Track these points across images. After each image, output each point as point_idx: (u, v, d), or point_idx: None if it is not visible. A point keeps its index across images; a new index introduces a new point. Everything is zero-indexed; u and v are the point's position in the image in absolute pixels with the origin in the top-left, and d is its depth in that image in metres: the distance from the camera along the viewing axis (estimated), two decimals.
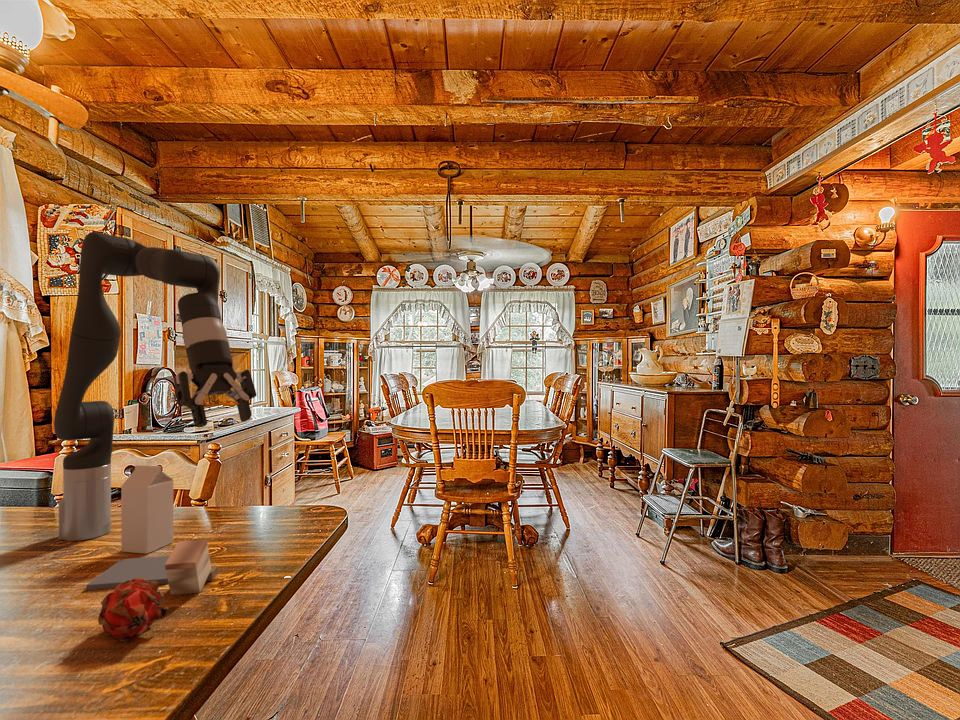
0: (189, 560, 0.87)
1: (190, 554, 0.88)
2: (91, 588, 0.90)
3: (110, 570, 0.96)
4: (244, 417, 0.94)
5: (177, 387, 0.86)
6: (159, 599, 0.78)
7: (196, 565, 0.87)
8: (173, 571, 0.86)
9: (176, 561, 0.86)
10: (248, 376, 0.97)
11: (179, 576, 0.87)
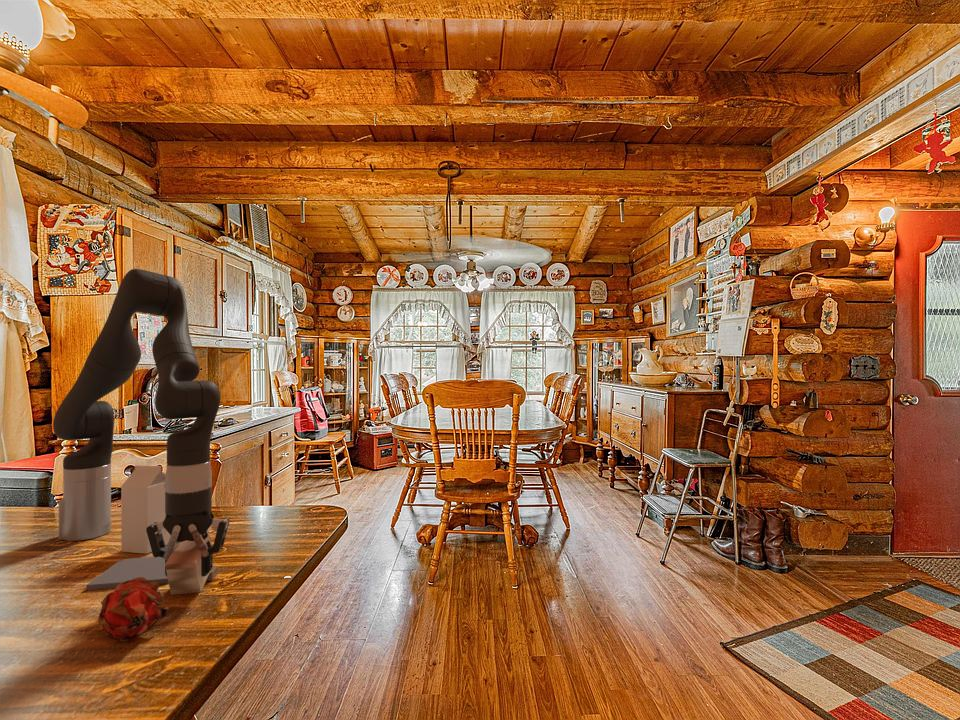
0: (189, 560, 0.87)
1: (190, 554, 0.88)
2: (91, 588, 0.90)
3: (110, 570, 0.96)
4: None
5: None
6: (159, 599, 0.78)
7: (196, 565, 0.87)
8: (173, 571, 0.86)
9: (176, 561, 0.86)
10: (220, 529, 0.90)
11: (179, 576, 0.87)
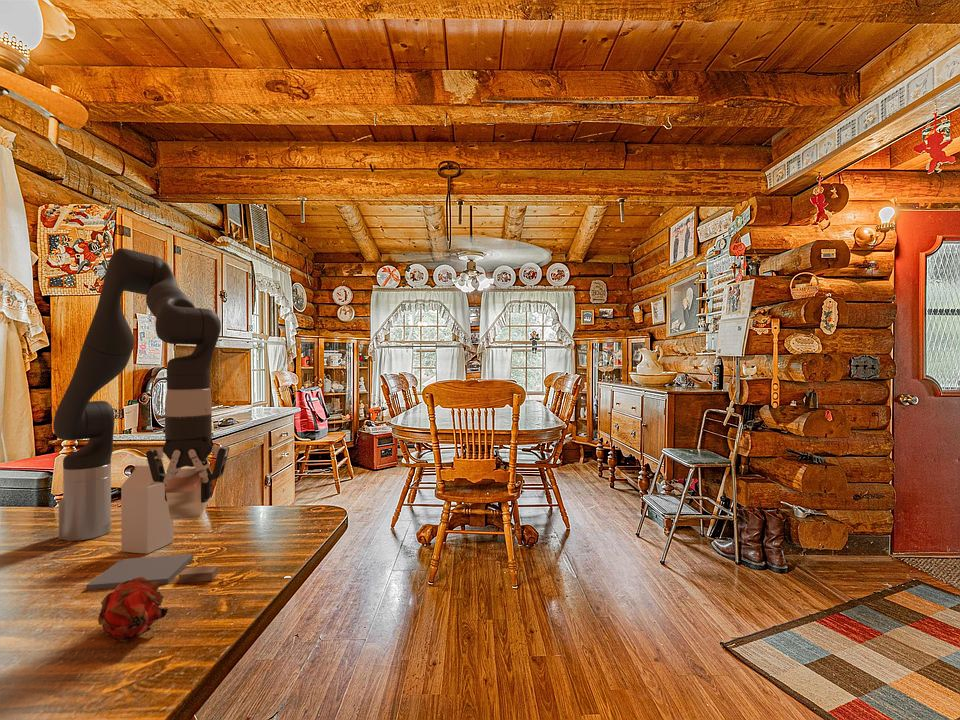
0: (189, 484, 0.87)
1: (190, 479, 0.88)
2: (91, 588, 0.90)
3: (110, 570, 0.96)
4: None
5: None
6: (159, 599, 0.78)
7: (196, 489, 0.87)
8: (173, 495, 0.86)
9: (176, 484, 0.86)
10: (220, 456, 0.90)
11: (178, 500, 0.87)
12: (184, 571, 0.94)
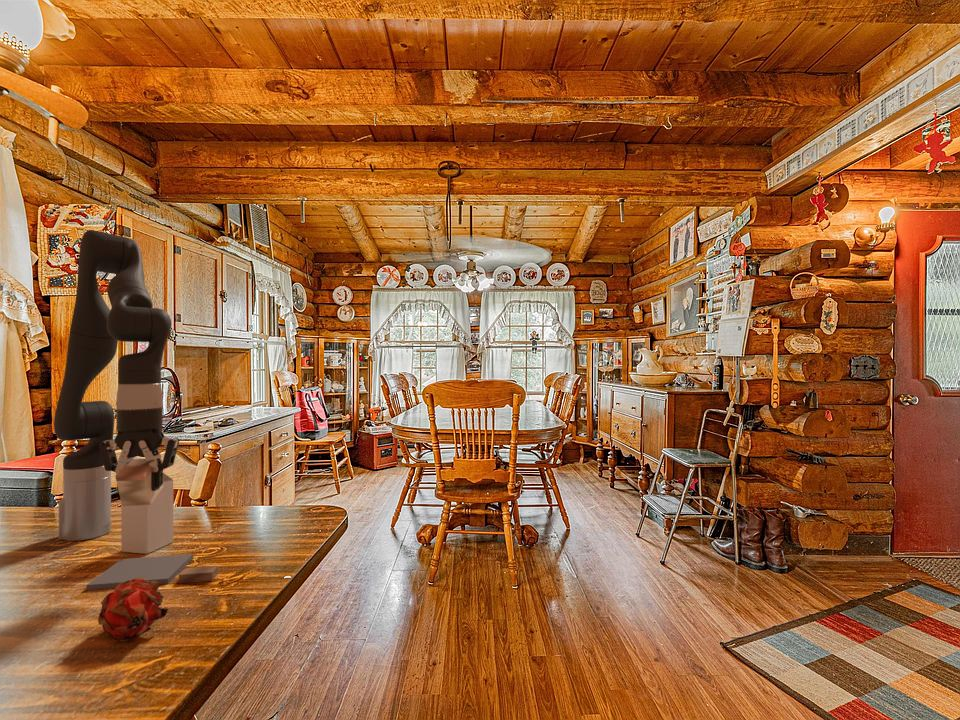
0: (139, 473, 0.92)
1: (140, 468, 0.94)
2: (91, 588, 0.90)
3: (110, 570, 0.96)
4: None
5: None
6: (159, 599, 0.78)
7: (145, 477, 0.93)
8: (123, 483, 0.92)
9: (126, 473, 0.92)
10: (169, 446, 0.95)
11: (129, 488, 0.92)
12: (184, 571, 0.94)
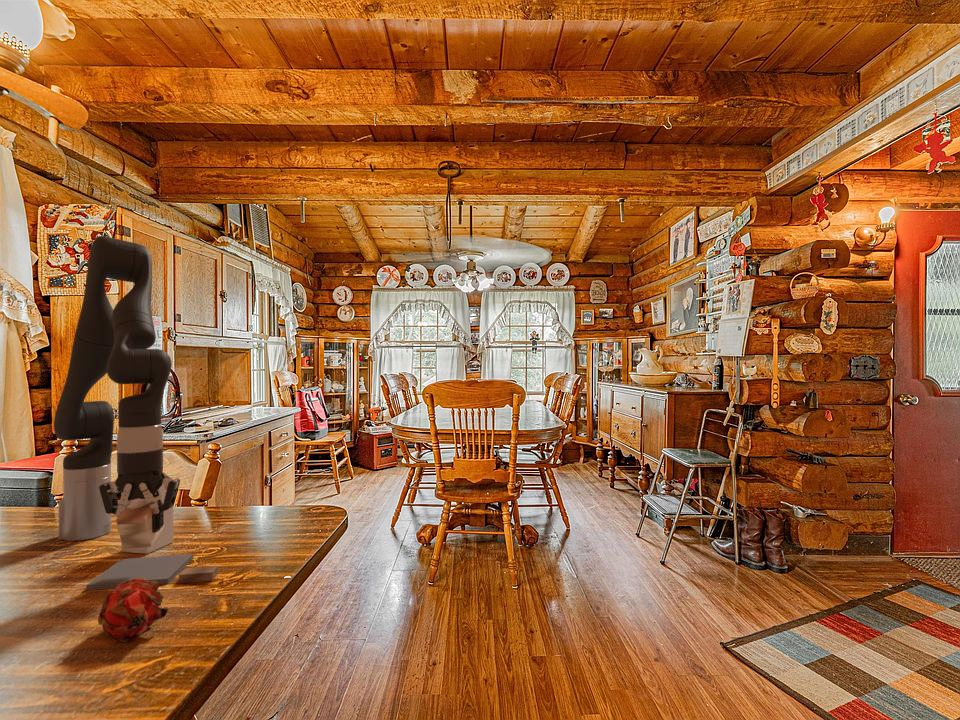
0: (139, 516, 0.92)
1: (141, 511, 0.94)
2: (91, 588, 0.90)
3: (110, 570, 0.96)
4: None
5: None
6: (159, 599, 0.78)
7: (146, 520, 0.93)
8: (124, 526, 0.92)
9: (127, 516, 0.92)
10: (170, 488, 0.95)
11: (130, 531, 0.92)
12: (184, 571, 0.94)
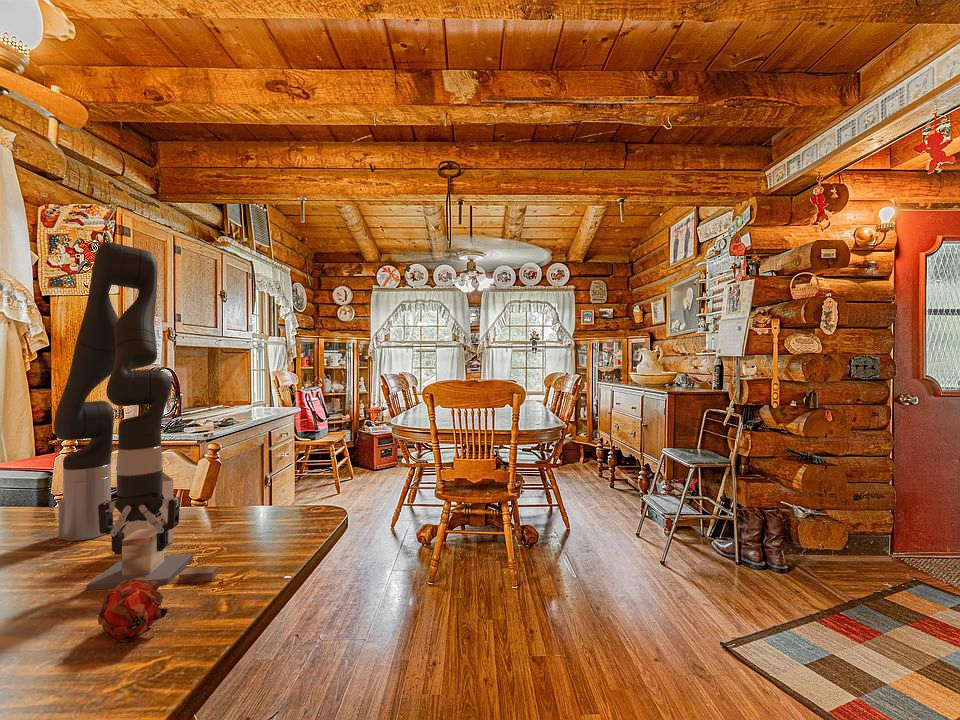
0: (145, 537, 0.95)
1: (147, 534, 0.96)
2: (91, 588, 0.90)
3: (110, 570, 0.96)
4: None
5: None
6: (159, 599, 0.78)
7: (151, 542, 0.95)
8: (128, 548, 0.94)
9: (133, 538, 0.94)
10: (171, 507, 0.95)
11: (133, 554, 0.94)
12: (184, 571, 0.94)
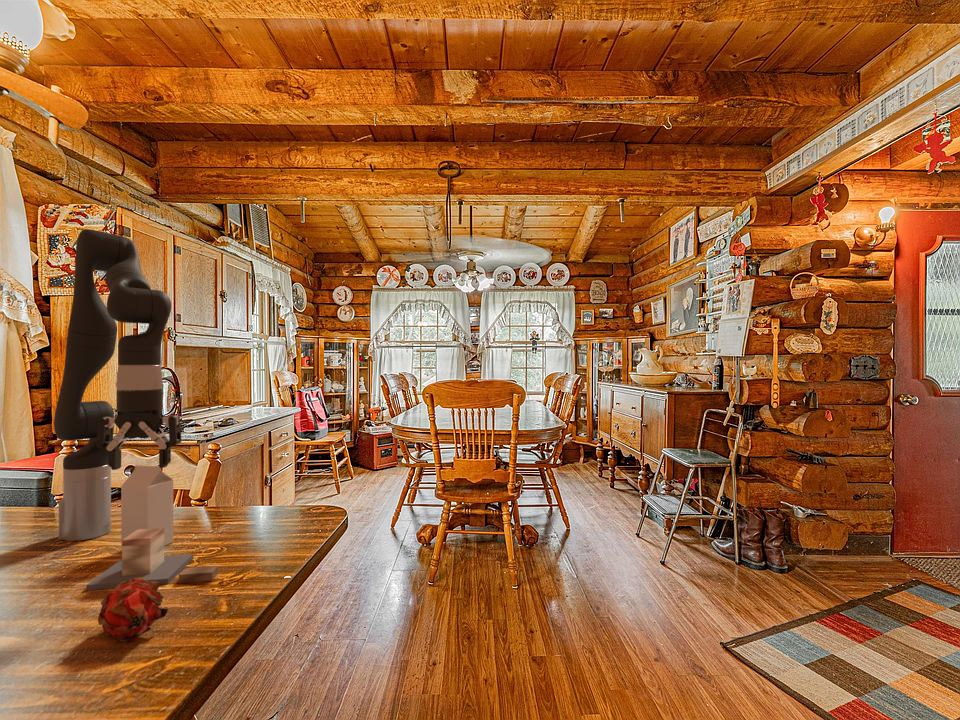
0: (145, 537, 0.95)
1: (147, 534, 0.96)
2: (91, 588, 0.90)
3: (110, 570, 0.96)
4: None
5: None
6: (159, 599, 0.78)
7: (151, 542, 0.95)
8: (128, 548, 0.94)
9: (133, 538, 0.94)
10: (171, 423, 0.95)
11: (133, 554, 0.94)
12: (184, 571, 0.94)
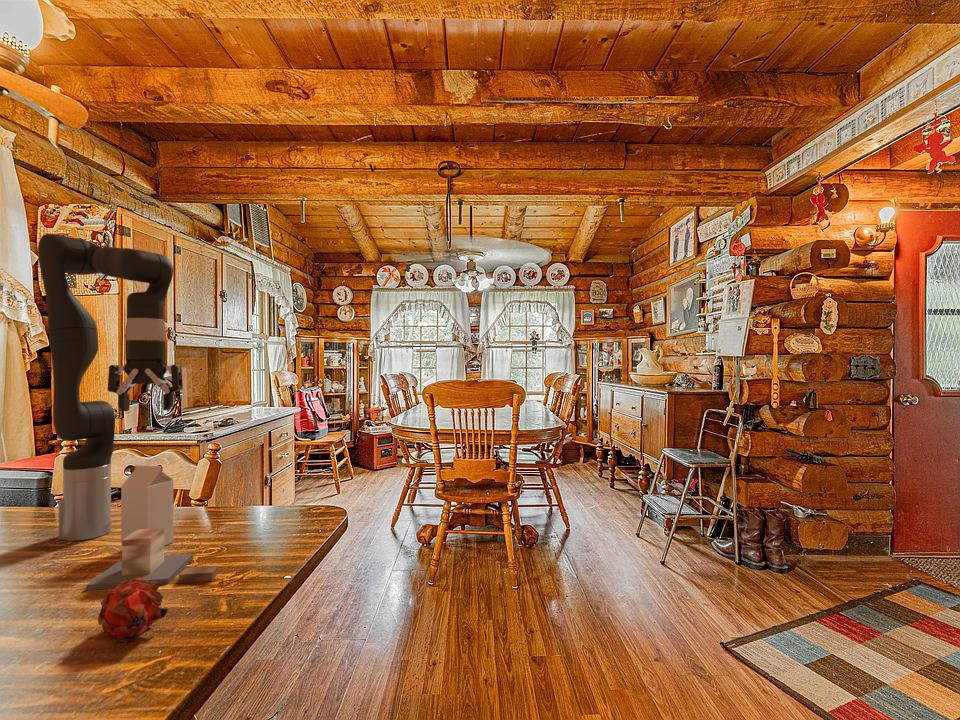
0: (145, 537, 0.95)
1: (147, 534, 0.96)
2: (91, 588, 0.90)
3: (110, 570, 0.96)
4: None
5: None
6: (159, 599, 0.78)
7: (151, 542, 0.95)
8: (128, 548, 0.94)
9: (133, 538, 0.94)
10: (174, 371, 1.08)
11: (133, 554, 0.94)
12: (184, 571, 0.94)
